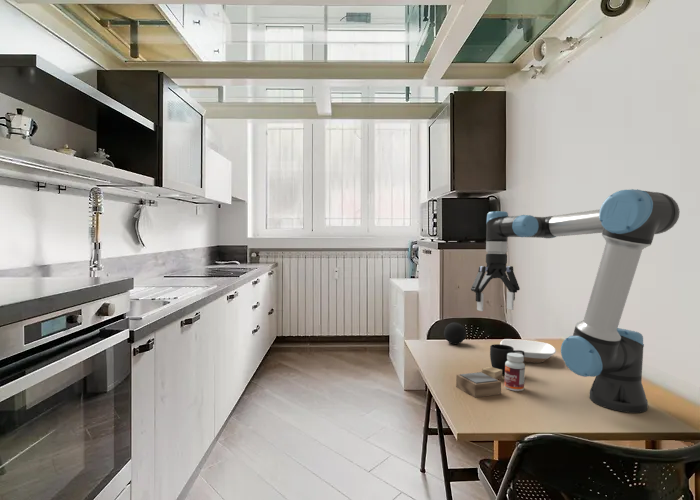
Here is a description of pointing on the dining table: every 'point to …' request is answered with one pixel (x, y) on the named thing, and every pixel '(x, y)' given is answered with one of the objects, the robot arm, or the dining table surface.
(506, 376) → the pill bottle
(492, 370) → the oak offcut
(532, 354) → the bowl
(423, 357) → the dining table surface
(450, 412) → the dining table surface
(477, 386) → the walnut stand
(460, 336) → the speaker
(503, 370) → the mug
